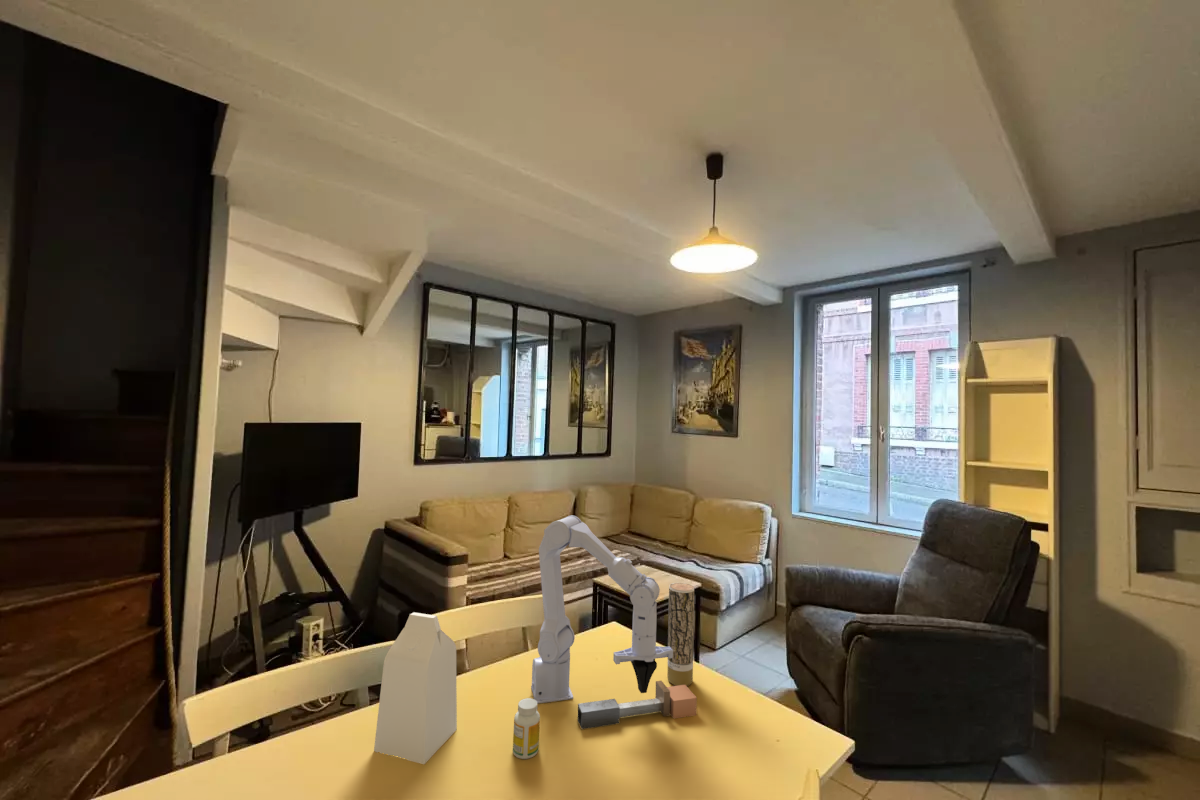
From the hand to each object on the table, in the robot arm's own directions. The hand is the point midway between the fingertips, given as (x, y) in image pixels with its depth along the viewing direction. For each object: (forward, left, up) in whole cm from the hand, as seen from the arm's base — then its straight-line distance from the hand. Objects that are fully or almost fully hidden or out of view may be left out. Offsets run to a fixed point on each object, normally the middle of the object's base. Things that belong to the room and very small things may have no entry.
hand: (642, 690), depth 113 cm
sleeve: (-11, 0, -6) cm, 12 cm away
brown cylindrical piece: (+16, +12, -6) cm, 21 cm away
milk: (-50, +3, -6) cm, 51 cm away
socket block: (+10, 0, -6) cm, 11 cm away
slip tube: (0, 0, -6) cm, 6 cm away
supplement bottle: (-28, -6, -6) cm, 30 cm away
